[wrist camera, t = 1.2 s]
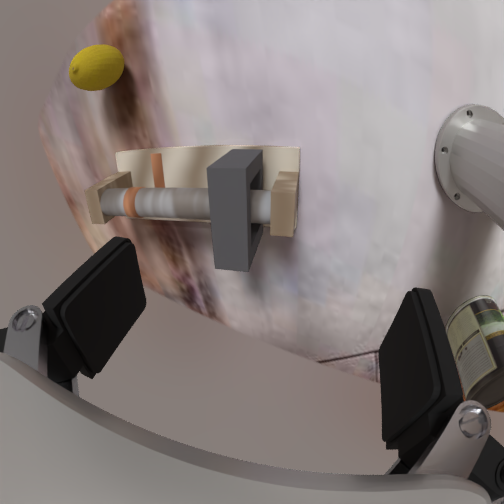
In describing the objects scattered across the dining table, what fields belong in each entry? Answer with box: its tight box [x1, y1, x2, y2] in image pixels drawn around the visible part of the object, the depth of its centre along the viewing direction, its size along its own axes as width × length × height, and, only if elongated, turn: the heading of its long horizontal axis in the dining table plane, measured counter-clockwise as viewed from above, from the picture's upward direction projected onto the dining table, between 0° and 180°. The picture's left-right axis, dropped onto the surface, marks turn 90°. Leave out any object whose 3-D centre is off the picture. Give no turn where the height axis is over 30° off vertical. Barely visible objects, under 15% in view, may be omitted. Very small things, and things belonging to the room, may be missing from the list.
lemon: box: [69, 45, 124, 91], centre depth 22 cm, size 6×6×8 cm
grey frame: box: [206, 149, 263, 272], centre depth 26 cm, size 3×9×8 cm, turn 0°
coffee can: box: [446, 296, 504, 409], centre depth 28 cm, size 10×10×14 cm
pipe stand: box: [85, 145, 300, 237], centre depth 29 cm, size 22×9×8 cm, turn 90°
